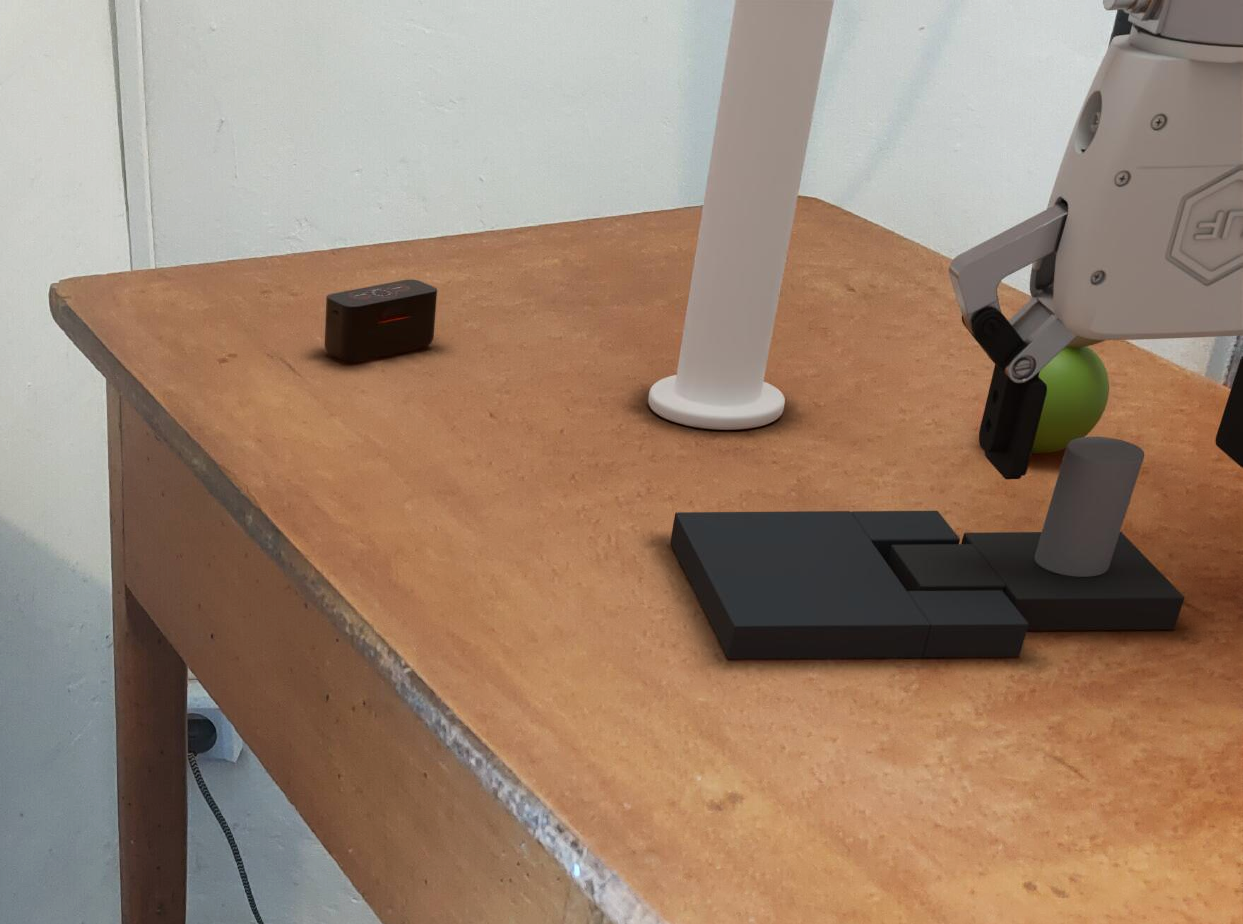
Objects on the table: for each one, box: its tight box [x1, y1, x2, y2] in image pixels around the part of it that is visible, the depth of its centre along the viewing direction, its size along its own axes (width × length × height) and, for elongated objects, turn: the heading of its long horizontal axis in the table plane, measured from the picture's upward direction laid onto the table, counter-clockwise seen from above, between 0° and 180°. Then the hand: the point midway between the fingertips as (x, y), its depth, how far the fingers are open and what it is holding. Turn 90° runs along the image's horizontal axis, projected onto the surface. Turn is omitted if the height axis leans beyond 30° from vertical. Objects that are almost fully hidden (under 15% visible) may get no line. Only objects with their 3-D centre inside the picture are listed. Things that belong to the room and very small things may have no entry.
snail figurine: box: [1031, 336, 1110, 454], centre depth 92 cm, size 5×6×12 cm
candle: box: [647, 0, 835, 431], centre depth 93 cm, size 7×7×25 cm
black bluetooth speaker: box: [324, 279, 438, 364], centre depth 109 cm, size 5×7×3 cm, turn 119°
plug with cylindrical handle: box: [887, 436, 1185, 632], centre depth 80 cm, size 11×7×6 cm, turn 89°
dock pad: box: [669, 510, 1029, 660], centre depth 82 cm, size 12×12×2 cm
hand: (1119, 462), depth 79 cm, fingers open, 9 cm apart
